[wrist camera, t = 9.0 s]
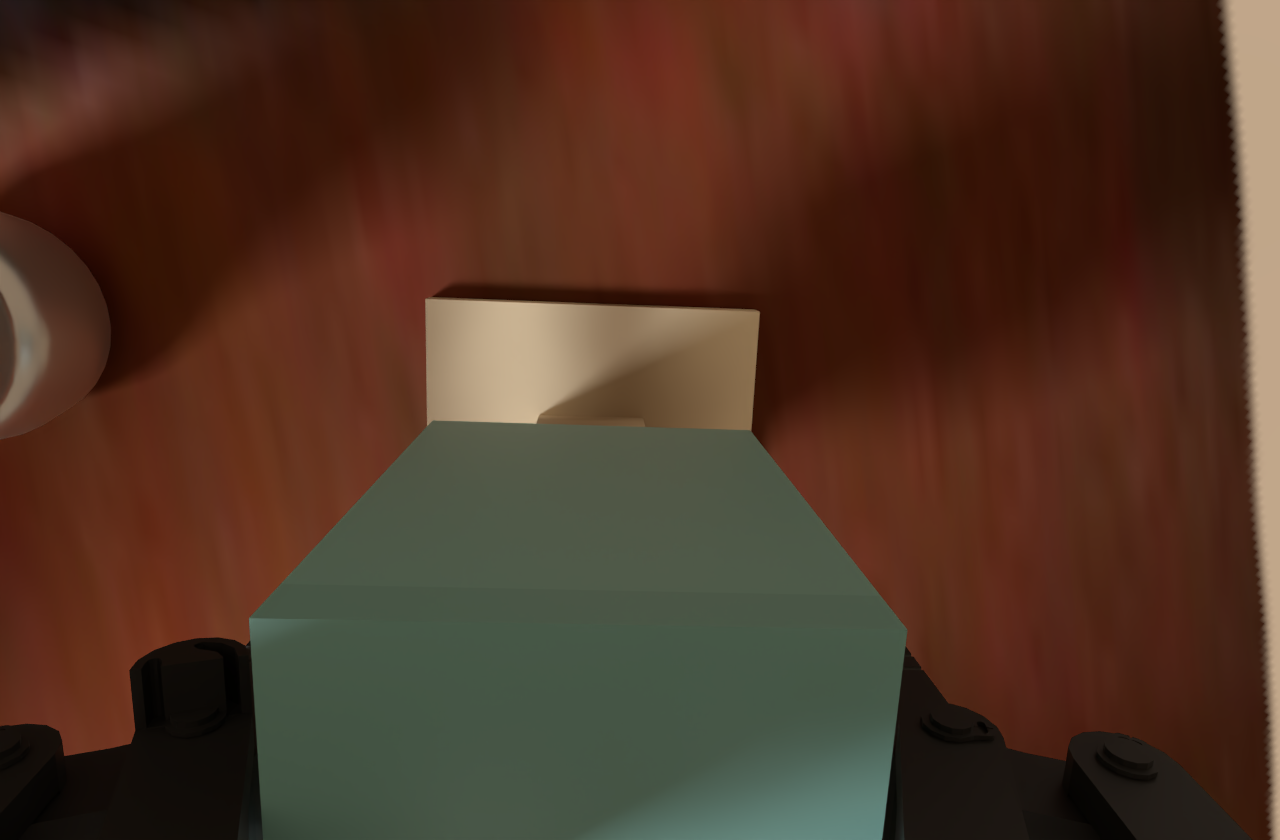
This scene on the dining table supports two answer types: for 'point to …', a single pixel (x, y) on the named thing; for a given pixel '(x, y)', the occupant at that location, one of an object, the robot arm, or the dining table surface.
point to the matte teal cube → (576, 650)
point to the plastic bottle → (46, 327)
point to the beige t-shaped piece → (590, 363)
